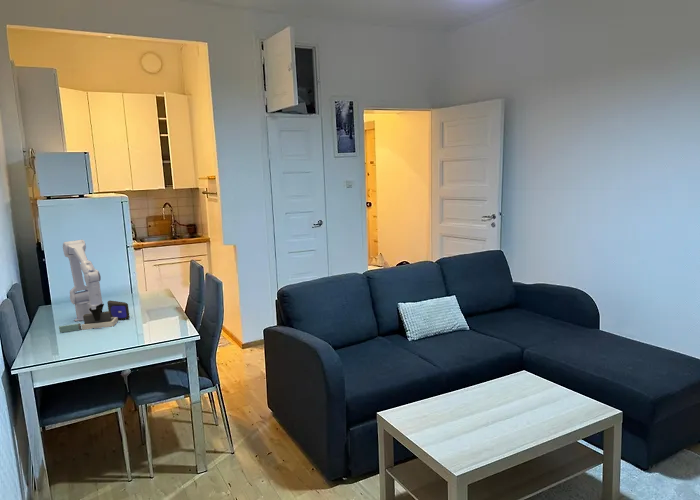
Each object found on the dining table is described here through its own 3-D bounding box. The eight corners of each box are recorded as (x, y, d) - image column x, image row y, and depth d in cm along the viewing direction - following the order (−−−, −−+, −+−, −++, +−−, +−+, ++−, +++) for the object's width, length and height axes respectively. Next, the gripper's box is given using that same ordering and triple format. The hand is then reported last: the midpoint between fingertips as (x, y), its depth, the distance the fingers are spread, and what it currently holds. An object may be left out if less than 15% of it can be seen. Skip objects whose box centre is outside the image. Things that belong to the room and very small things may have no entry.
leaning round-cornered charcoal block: (104, 318, 267) (102, 301, 265) (112, 316, 271) (109, 299, 269) (123, 321, 259) (120, 304, 257) (130, 319, 262) (128, 302, 261)
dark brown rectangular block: (86, 323, 253) (84, 314, 252) (111, 320, 256) (109, 311, 256) (84, 325, 249) (83, 316, 248) (109, 322, 253) (108, 313, 252)
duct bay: (88, 324, 256) (87, 319, 256) (118, 321, 259) (117, 316, 259) (82, 329, 248) (81, 325, 247) (113, 326, 250) (112, 321, 250)
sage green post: (59, 332, 244) (58, 327, 243) (60, 332, 245) (59, 326, 244) (81, 329, 247) (80, 323, 247) (81, 328, 248) (80, 323, 248)
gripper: (89, 292, 256) (93, 316, 258) (83, 298, 242) (87, 324, 245) (103, 290, 258) (107, 314, 260) (98, 296, 245) (102, 322, 247)
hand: (98, 319), depth 253 cm, fingers closed on dark brown rectangular block, 4 cm apart
